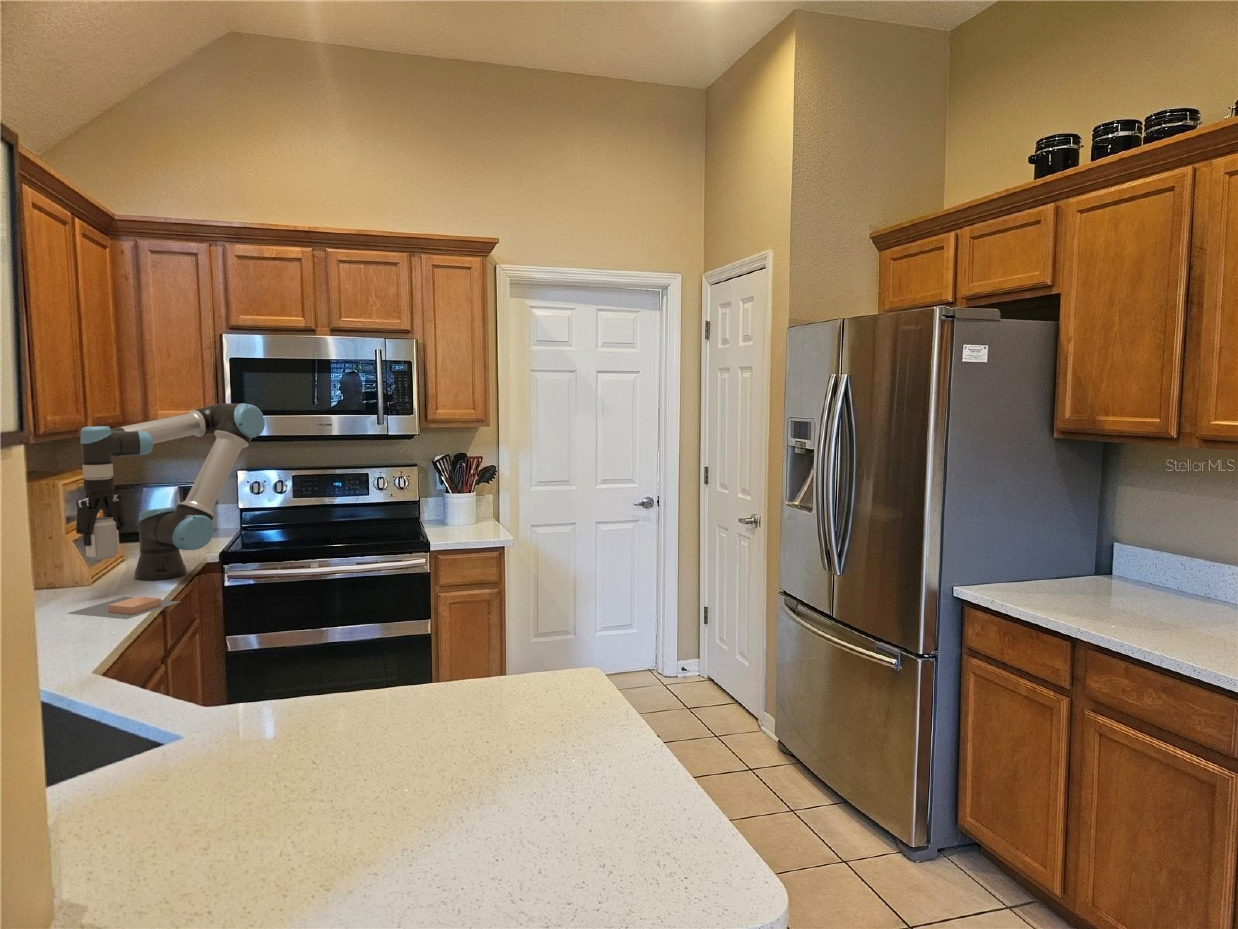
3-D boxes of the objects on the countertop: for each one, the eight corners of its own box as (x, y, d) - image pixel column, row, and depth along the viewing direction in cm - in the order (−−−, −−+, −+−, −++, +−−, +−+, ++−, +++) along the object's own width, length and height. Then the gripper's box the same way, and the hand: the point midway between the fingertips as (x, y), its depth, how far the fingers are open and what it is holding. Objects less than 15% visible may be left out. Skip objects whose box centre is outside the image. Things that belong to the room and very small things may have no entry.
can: (124, 555, 237) (121, 516, 236) (105, 560, 229) (103, 520, 228) (101, 554, 238) (98, 515, 236) (82, 559, 230) (79, 519, 229)
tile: (138, 596, 226) (108, 605, 216) (160, 598, 224) (131, 607, 214) (138, 603, 226) (108, 612, 216) (161, 605, 224) (132, 614, 215)
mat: (125, 598, 233) (125, 596, 233) (181, 603, 229) (180, 601, 229) (67, 615, 215) (66, 613, 215) (126, 621, 210) (126, 619, 210)
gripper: (117, 474, 242) (121, 546, 244) (56, 481, 222) (61, 560, 224) (137, 474, 240) (141, 547, 242) (77, 482, 220) (82, 561, 223)
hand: (103, 553), depth 233 cm, fingers closed on can, 7 cm apart
